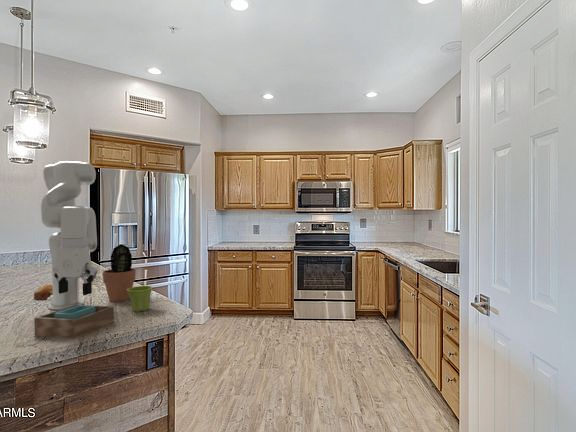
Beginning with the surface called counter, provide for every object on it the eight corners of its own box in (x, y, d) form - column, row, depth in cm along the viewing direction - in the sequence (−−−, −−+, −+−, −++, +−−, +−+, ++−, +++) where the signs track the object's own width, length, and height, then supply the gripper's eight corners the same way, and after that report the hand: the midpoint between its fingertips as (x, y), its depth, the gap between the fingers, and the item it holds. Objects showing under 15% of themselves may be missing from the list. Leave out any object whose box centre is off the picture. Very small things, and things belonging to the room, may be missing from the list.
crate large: (34, 336, 109) (34, 317, 109) (76, 321, 124) (76, 304, 124) (76, 339, 105) (75, 320, 105) (113, 323, 121) (113, 306, 121)
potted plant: (95, 301, 151) (94, 245, 151) (120, 294, 164) (119, 242, 164) (119, 304, 146) (118, 245, 146) (143, 296, 159) (141, 243, 159)
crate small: (54, 331, 111) (54, 313, 111) (80, 322, 121) (79, 305, 120) (71, 332, 109) (71, 314, 109) (95, 323, 119) (95, 305, 119)
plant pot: (143, 313, 131) (143, 291, 131) (122, 312, 133) (121, 290, 133) (157, 307, 140) (157, 286, 140) (137, 306, 142) (137, 285, 142)
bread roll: (56, 302, 168) (53, 286, 170) (64, 295, 162) (61, 279, 164) (32, 306, 160) (29, 290, 162) (40, 299, 154) (37, 283, 156)
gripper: (43, 243, 113) (44, 294, 114) (86, 245, 109) (87, 298, 110) (62, 241, 120) (63, 289, 121) (104, 242, 117) (105, 292, 117)
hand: (75, 293), depth 115 cm, fingers open, 9 cm apart
